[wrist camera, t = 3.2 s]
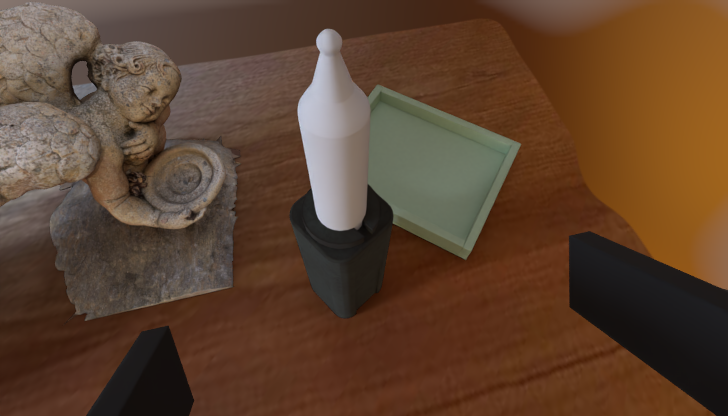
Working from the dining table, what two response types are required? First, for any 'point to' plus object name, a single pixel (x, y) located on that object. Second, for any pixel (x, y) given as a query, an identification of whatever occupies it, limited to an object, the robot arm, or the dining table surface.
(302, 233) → the candle
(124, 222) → the cherub figurine
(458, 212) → the tray
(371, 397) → the dining table surface
